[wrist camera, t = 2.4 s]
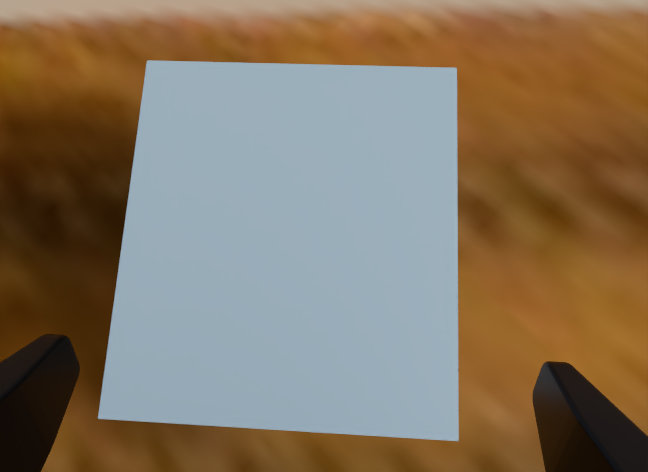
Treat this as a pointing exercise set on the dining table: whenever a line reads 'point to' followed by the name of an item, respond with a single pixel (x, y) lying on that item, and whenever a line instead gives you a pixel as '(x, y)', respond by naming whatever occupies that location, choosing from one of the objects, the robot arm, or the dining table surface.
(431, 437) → the light blue block
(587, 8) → the dining table surface
